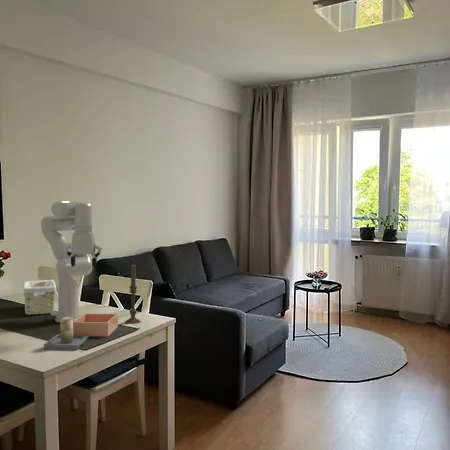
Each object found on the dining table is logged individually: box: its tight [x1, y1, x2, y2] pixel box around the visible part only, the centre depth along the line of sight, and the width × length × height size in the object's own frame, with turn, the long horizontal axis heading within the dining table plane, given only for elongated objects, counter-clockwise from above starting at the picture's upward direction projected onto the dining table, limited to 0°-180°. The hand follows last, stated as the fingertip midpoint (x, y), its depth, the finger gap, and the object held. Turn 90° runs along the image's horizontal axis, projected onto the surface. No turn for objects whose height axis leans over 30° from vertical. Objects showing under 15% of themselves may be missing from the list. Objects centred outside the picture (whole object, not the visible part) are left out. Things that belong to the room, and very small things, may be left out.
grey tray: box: [43, 333, 90, 351], centre depth 201 cm, size 14×14×2 cm
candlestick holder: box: [124, 263, 142, 325], centre depth 233 cm, size 9×9×30 cm
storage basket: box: [23, 279, 57, 315], centre depth 259 cm, size 24×16×15 cm
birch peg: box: [60, 317, 74, 344], centre depth 200 cm, size 5×5×10 cm
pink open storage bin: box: [73, 312, 119, 337], centre depth 217 cm, size 16×16×7 cm
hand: (83, 266), depth 220 cm, fingers open, 9 cm apart
